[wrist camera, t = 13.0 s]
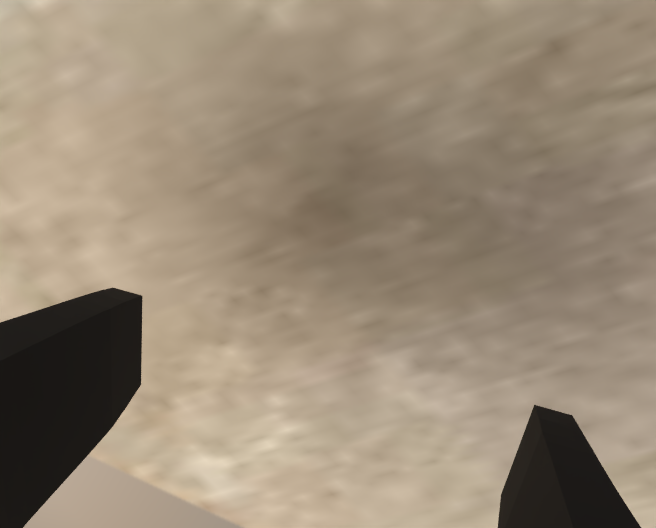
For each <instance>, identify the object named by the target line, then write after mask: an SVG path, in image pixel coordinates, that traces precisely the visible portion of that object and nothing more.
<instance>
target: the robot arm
mask: <svg viewBox="0 0 656 528" xmlns="http://www.w3.org/2000/svg"><path fill="white" fill-rule="evenodd" d="M141 347H142V296H141V295H137V294H134V293H130V292H127V291H123V290H119V289H116V288H110V289H106V290H101V291H98V292H94V293H91V294H87V295H84V296H81V297H78V298H75V299H71V300H68V301H65V302H62V303H59V304H56V305H53V306H50V307H47V308H44V309H41V310H38V311H35V312H32V313H29V314H26V315H22V316H19V317H16V318H13V319H10V320H7V321H4V322H1V323H0V528H23V527H24V525H25V524H26V523H27V522H28V521H29V520H30V519H31V517H32V516H33V515H34V514H35V513H36V512H37V511H38V510H39V508H40V507H41V506H42V505H43V504H44V503H45V502H46V501H47V500H48V498H49V497H50V496H51V495H52V494H53V493H54V492H55V491H56V490H57V489H58V488H59V486H60V485H61V484H62V483H63V482H64V481H65V480H66V479H67V478H68V476H69V475H70V474H71V473H72V472H73V471H74V470H75V469H76V468H77V466H78V465H79V464H80V463H81V462H82V461H83V460H84V459H85V458H86V456H87V455H88V454H89V453H90V452H91V451H92V450H93V449H94V447H95V446H96V445H97V444H98V443H99V442H100V441H101V440H102V438H103V437H104V436H105V435H106V434H107V433H108V431H109V430H110V429H111V428H112V427H113V425H114V424H115V422H116V421H117V420H118V418H119V417H120V415H121V414H122V412H123V411H124V410H125V408H126V407H127V405H128V404H129V402H130V400H131V399H132V397H133V396H134V394H135V393H136V391H137V390H138V388H139V387H140V385H141ZM498 528H641V527H640V525H639V524H638V522H637V521H636V519H635V518H634V516H633V515H632V513H631V512H630V510H629V509H628V507H627V506H626V504H625V502H624V501H623V499H622V498H621V496H620V495H619V493H618V491H617V490H616V488H615V487H614V485H613V483H612V482H611V480H610V478H609V477H608V475H607V473H606V472H605V470H604V468H603V467H602V465H601V463H600V462H599V460H598V458H597V457H596V455H595V453H594V451H593V450H592V448H591V446H590V445H589V443H588V441H587V440H586V438H585V436H584V434H583V433H582V431H581V429H580V428H579V426H578V424H577V423H576V421H575V419H574V418H573V416H572V415H569V414H565V413H562V412H558V411H554V410H551V409H547V408H544V407H540V406H536V405H534V408H533V410H532V413H531V416H530V418H529V421H528V424H527V426H526V429H525V432H524V435H523V437H522V440H521V443H520V445H519V448H518V451H517V454H516V456H515V459H514V462H513V464H512V467H511V470H510V472H509V475H508V478H507V481H506V483H505V486H504V489H503V491H502V494H501V502H500V512H499V521H498Z"/></svg>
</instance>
